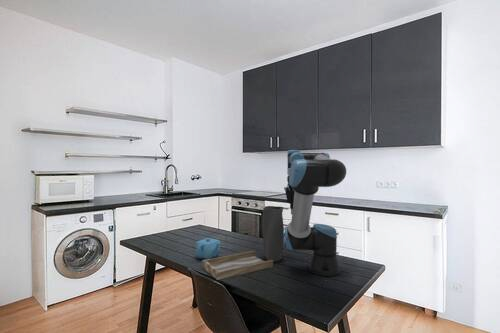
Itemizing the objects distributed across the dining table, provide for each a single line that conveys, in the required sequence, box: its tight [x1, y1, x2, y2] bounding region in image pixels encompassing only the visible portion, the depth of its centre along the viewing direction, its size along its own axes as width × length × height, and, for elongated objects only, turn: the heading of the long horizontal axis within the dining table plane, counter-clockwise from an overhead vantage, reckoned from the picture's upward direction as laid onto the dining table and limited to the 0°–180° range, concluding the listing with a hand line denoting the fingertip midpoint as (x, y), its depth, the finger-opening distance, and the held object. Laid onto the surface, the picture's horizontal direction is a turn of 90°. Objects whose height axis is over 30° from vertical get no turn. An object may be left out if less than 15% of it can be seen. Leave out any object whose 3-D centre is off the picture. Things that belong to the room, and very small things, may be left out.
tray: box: [201, 250, 274, 281], centre depth 143 cm, size 19×32×4 cm, turn 122°
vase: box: [261, 205, 285, 263], centre depth 155 cm, size 12×12×30 cm
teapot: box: [195, 237, 222, 260], centre depth 157 cm, size 16×18×11 cm
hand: (293, 214), depth 164 cm, fingers closed
